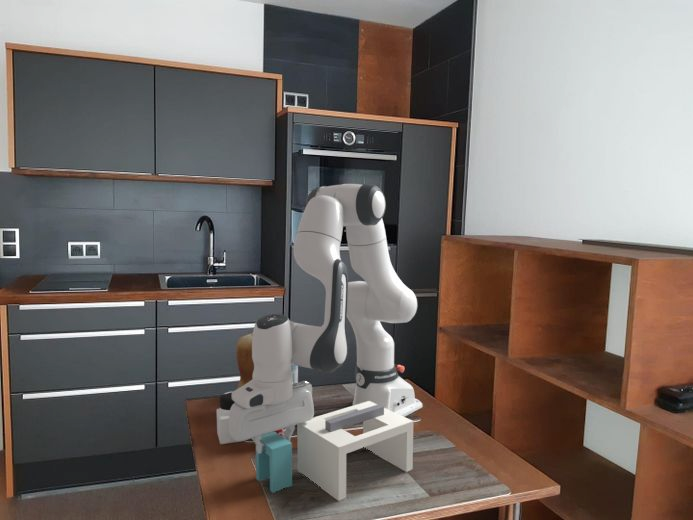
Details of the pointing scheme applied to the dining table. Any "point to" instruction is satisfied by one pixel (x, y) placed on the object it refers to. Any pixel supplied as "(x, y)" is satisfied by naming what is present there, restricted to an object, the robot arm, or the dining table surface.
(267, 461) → the turquoise upright block
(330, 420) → the white slotted stand
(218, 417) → the medicine bottle
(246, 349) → the butternut squash
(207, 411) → the dining table surface
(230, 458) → the dining table surface
